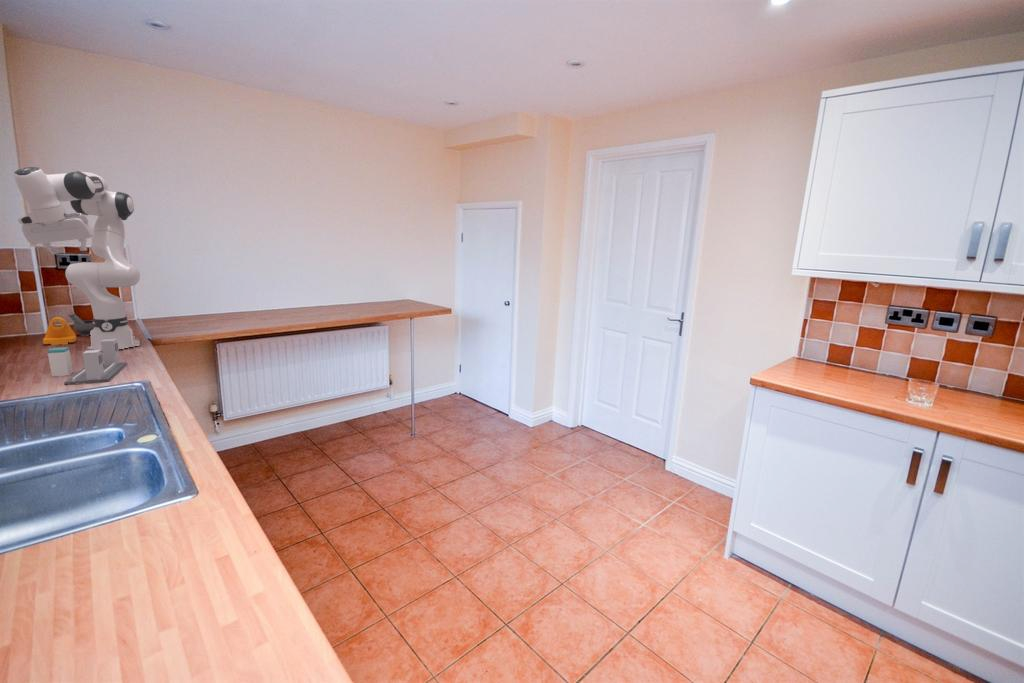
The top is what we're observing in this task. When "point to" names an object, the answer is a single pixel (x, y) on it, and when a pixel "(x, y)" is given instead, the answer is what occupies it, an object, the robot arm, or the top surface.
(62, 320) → the bracket
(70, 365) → the block
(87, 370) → the base plate with posts
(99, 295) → the robot arm
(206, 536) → the top surface
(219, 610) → the top surface
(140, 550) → the top surface
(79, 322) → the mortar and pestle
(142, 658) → the top surface
